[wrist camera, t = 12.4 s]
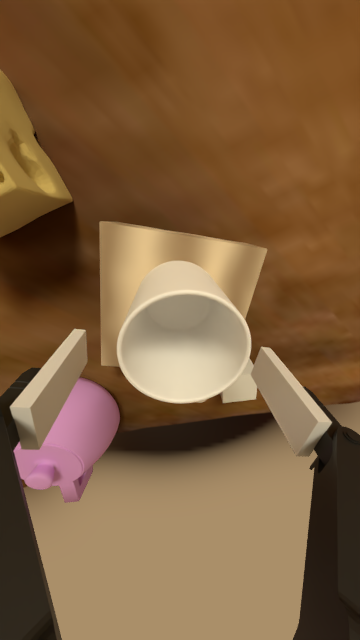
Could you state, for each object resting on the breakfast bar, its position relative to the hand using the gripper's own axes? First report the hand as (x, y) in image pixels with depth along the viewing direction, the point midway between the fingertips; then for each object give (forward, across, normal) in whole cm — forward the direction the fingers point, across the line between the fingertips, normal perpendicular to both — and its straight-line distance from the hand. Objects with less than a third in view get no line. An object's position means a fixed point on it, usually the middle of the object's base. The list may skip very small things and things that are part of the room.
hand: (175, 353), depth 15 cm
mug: (+8, +1, 0) cm, 8 cm away
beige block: (+14, +12, -11) cm, 21 cm away
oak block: (+14, 0, 0) cm, 14 cm away
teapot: (+14, -14, -22) cm, 30 cm away
